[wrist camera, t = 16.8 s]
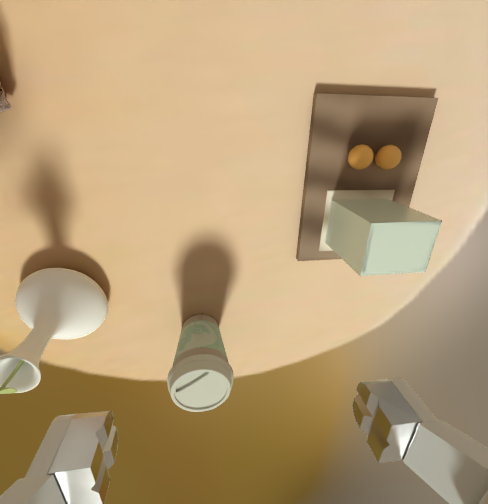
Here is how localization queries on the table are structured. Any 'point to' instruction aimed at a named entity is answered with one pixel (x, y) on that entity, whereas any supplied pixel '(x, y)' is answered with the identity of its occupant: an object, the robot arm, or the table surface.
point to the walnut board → (337, 150)
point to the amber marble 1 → (360, 157)
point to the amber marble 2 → (388, 157)
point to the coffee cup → (200, 367)
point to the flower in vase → (50, 320)
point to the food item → (3, 101)
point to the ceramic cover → (381, 236)
